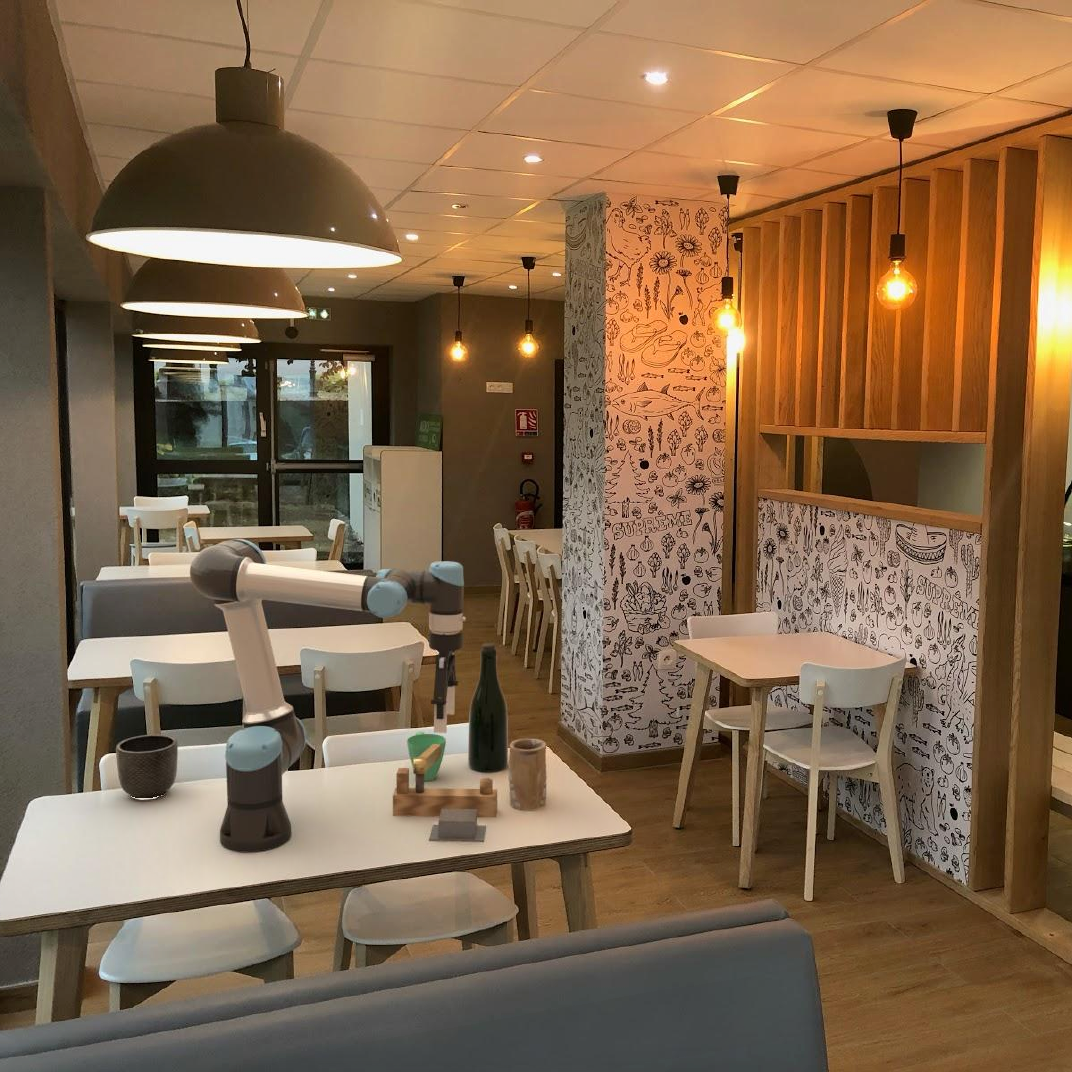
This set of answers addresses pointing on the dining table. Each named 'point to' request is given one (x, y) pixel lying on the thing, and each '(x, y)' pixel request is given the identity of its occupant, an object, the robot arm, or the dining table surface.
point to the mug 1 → (420, 745)
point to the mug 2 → (527, 774)
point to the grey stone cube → (457, 824)
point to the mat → (478, 838)
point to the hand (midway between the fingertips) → (444, 723)
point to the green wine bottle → (488, 718)
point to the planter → (147, 765)
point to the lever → (426, 759)
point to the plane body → (441, 798)
